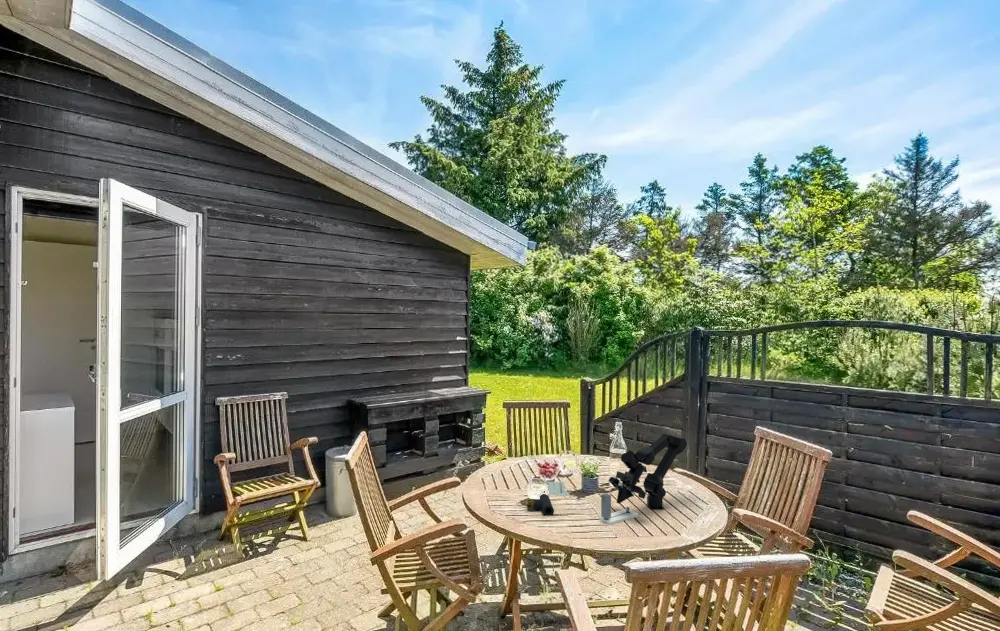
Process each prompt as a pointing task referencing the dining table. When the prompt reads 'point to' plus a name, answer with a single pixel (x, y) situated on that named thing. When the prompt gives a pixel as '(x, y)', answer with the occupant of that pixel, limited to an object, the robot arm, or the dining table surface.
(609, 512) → the gray metal block
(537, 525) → the dining table surface
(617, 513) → the bolt plate
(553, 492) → the metal bracket
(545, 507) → the pipe connector
